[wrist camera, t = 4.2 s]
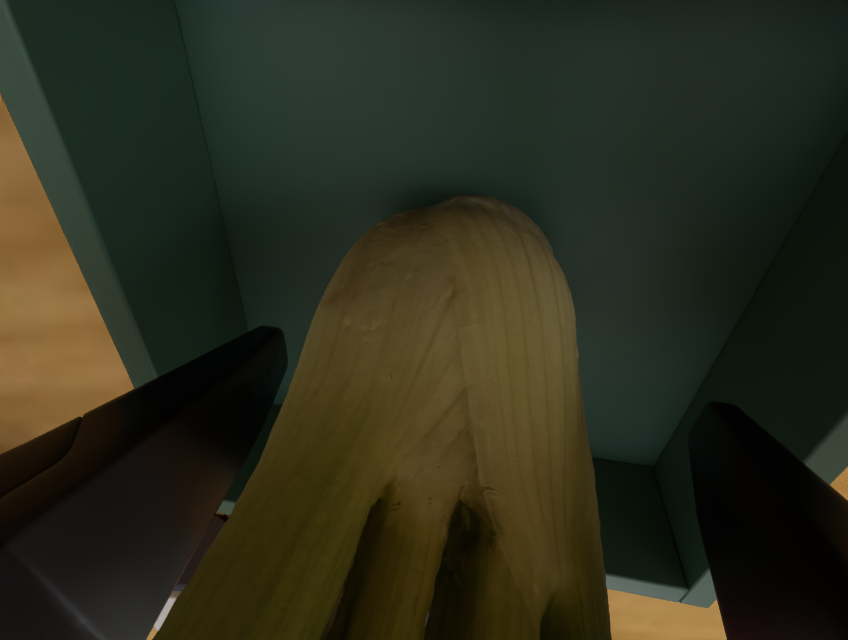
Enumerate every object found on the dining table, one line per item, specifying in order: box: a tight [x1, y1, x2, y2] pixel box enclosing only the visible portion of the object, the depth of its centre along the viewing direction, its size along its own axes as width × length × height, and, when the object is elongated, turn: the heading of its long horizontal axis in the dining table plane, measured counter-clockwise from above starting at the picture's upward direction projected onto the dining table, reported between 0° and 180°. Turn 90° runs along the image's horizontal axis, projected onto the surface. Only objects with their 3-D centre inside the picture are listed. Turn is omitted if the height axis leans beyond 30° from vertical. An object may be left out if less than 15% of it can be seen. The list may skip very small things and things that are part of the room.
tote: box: [0, 0, 848, 608], centre depth 11 cm, size 16×15×4 cm
